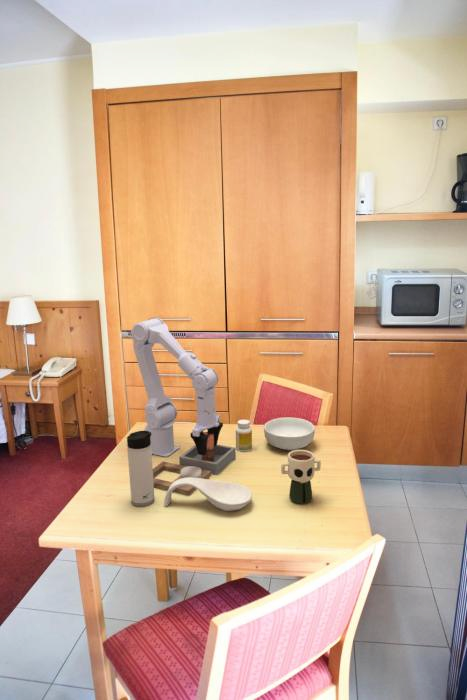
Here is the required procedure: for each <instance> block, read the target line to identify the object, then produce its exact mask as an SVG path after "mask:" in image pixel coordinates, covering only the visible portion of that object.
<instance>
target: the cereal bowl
mask: <svg viewBox="0 0 467 700" xmlns="http://www.w3.org/2000/svg"><path fill="white" fill-rule="evenodd" d="M315 429H316V427H315V425H314V423H312V422H311V421H309V420H307V419H303V418H299V417H277V418H274V419H270V420H268V421H267V422H266V423H265V424H264V427H263V433H264V438H265V439H266V442H268V443H269V444H270V445H272V446H273V447H275V448H278V449H281V450H283V451H294V450H300V449H303V448H305V447H306V446H308V445H310V444H311V443H312V442H313V440H314V438H315V433H316V432H315Z"/></svg>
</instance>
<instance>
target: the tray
mask: <svg viewBox="0 0 467 700" xmlns="http://www.w3.org/2000/svg"><path fill="white" fill-rule="evenodd" d="M236 450H237V449H236V447H233V446H227V445H223V444H217V445H216V446H214V462H210V461H205V460H202V455H199V454H198V451H197V448H196V445H195V444H194V445H193V446H192V447H190V448H189V449H188V450H187V451H185V452H183V454H181V455H180V456H179V465H183V466H196V467H199V468H200V469H203V470H208V471H211V475H215V476H218V475H219V474H220V473H221V472H222V471H223V470H224V469H226V468H227V467H228V466H229V465H230V464H231V463H232V462H233V461H234V460H235V459H236V458H237V456H236V455H237V454H236V453H237V451H236Z"/></svg>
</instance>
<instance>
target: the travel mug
mask: <svg viewBox="0 0 467 700" xmlns="http://www.w3.org/2000/svg"><path fill="white" fill-rule="evenodd" d="M151 435H152V434H151V432H149V431H144V430H139V431H138V430H137V431H134V432H131V433H129V435H128V436H126V443H127V444H126V447H127V459H128V460H127V461H128V473H129V474H128V475H129V485H130V486H129V489H130V499H131V504H132V505H133V506H135V507H142V508H143V507H147V506H148V507H149V506H150V505H152V504H153V503H154V501H155V488H154V483H153V468H154V467H153V456H152V455H153V454H152V451H151V441H150V440H151V439H150V437H151Z"/></svg>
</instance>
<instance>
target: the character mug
mask: <svg viewBox="0 0 467 700" xmlns="http://www.w3.org/2000/svg"><path fill="white" fill-rule="evenodd" d="M315 458H316V457H315V454H314V453H313V452H312V451H310V450H307V449H297V450H290V452H288V453H287V462H282V463H281V466H280V467H281V468H280V469H281V470H280V471H281V475H288V477H289V479H290V480H291V481H290V486H289V494H288V495H289V499H290V500H291V501H292V502H295V503H296V504H303V501H304V500H305V503H309V502H311V501H312V500H313V491H312V482H311V480H313V478H314V477H315V472H319V471H321V464H322V463H321V459H319V458H317V459H315ZM315 464H316V467H315ZM286 467H287V469H286Z"/></svg>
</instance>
